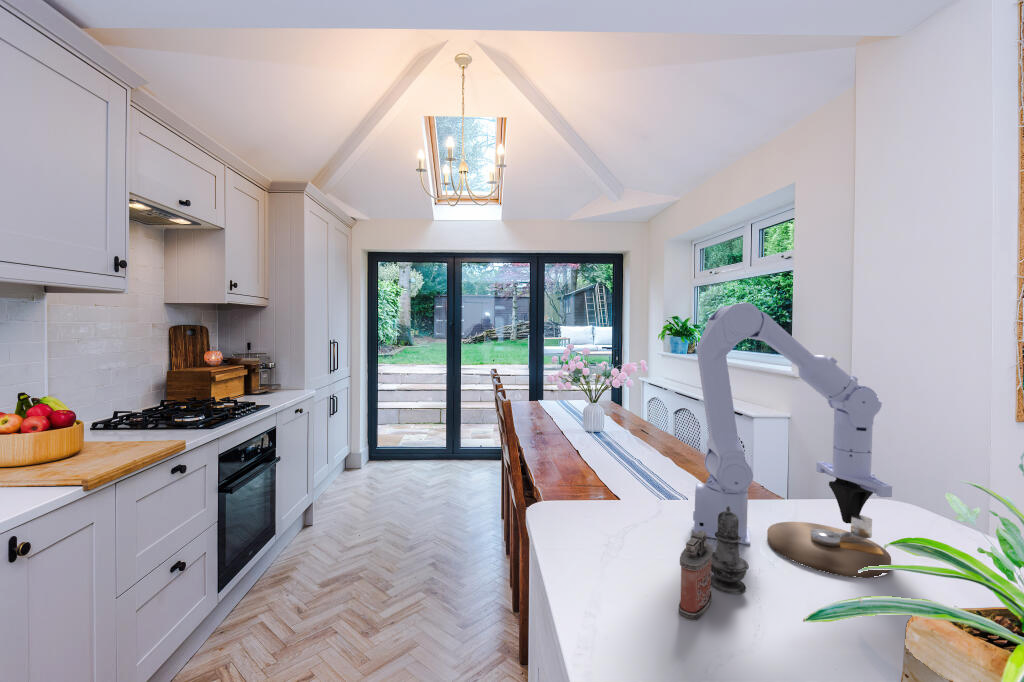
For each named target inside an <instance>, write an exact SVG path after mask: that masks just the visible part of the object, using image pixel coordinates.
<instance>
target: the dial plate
mask: <svg viewBox="0 0 1024 682" xmlns="http://www.w3.org/2000/svg"><path fill="white" fill-rule="evenodd" d="M812 529H823V530H828V531H831V532H834V533H843V532H849V531H848V530H846V529H845V530H844V529H841V528H838V527H835V526H829V525H825V524H821V523H812V522H805V521H782V522H777V523H773V524H771V525H770V526H769V527H768V529H767V530H766V531H767V534H766V536H767V537H766V540H767V541H766V542H767V543H768V545H769V546H770V547H771V549H772V550H774V551H775V552H776V551H777V552H776V553H778V554H779V553H780V554H779V555H781V556H782V555H783V556H782V557H784V556H786V557H787V558H786V557H785V558H786V559H788V558H789V559H788V560H790V559H791V560H790V561H792V560H794V561H796V562H798V563H797V564H799V563H800V564H799V565H801V564H803V565H802V566H804V565H805V566H804V567H806V566H808V567H807V568H809V567H811V568H810V569H812V568H813V570H815V569H816V571H819V570H821V571H820V572H822V571H825V572H824V573H826V572H829V573H828V574H830V573H832V574H831V575H835V574H837V575H836V576H840V575H842V576H841V577H846V576H848V578H854V577H853V576H856V577H862V578H861V579H870V578H869V577H874V576H879V575H881V574H882V573H888V574H889V573H890V572H891V570H868V571H863V572H861V573H858V570H860V569H862V568H864V567H868V566H879V565H891V566H892V556H891V555H890V553H889V552H888V551H887V550H886V549H885V548H884V547H882V546H881V545H880V544H878V543H876V542H874V541H873V540H870V539H869V538H866V540H861V541H841V545H840V546H837V547H831V546H825V545H822V544H819V543H816V542H814V541H813V540H812V539H811V530H812ZM883 548H884V549H883ZM794 561H793V562H794ZM796 562H795V563H796Z"/></svg>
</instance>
